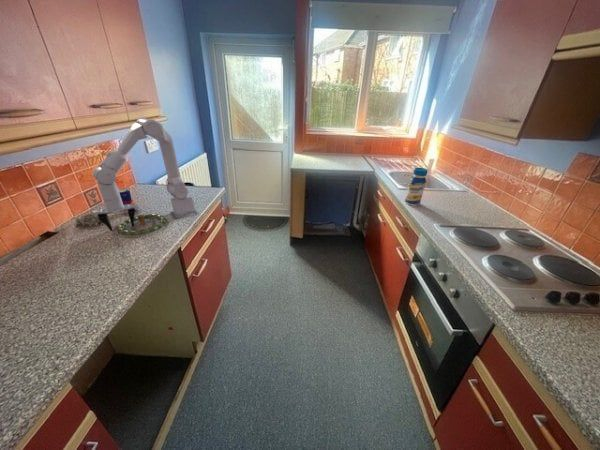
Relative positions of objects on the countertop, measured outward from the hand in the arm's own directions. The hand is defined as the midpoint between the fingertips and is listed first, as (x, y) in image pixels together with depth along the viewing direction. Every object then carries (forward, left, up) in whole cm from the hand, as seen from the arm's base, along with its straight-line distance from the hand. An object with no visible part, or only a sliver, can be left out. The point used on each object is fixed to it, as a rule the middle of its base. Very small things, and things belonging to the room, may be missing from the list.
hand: (122, 227), depth 105 cm
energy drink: (-4, -18, -2) cm, 18 cm away
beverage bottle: (-140, +42, -2) cm, 146 cm away
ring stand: (-8, 0, -2) cm, 8 cm away
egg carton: (+11, -14, -2) cm, 18 cm away
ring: (-8, 0, 0) cm, 8 cm away
